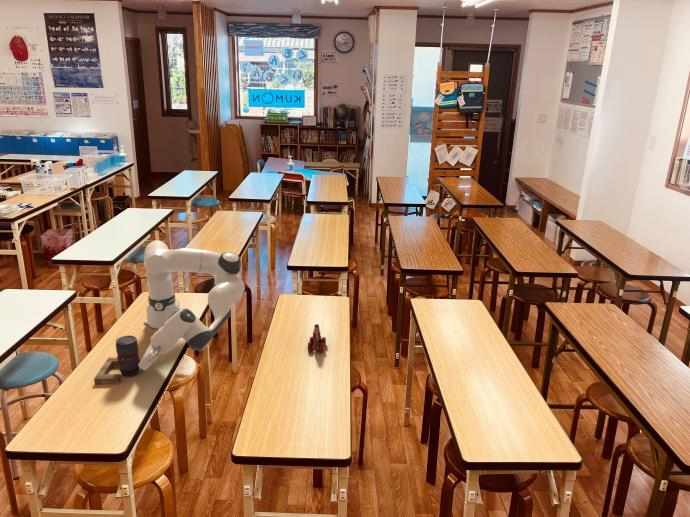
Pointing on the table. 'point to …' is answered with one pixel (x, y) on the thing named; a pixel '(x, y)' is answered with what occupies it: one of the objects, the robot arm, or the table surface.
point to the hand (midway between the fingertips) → (140, 363)
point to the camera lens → (128, 355)
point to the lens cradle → (103, 373)
